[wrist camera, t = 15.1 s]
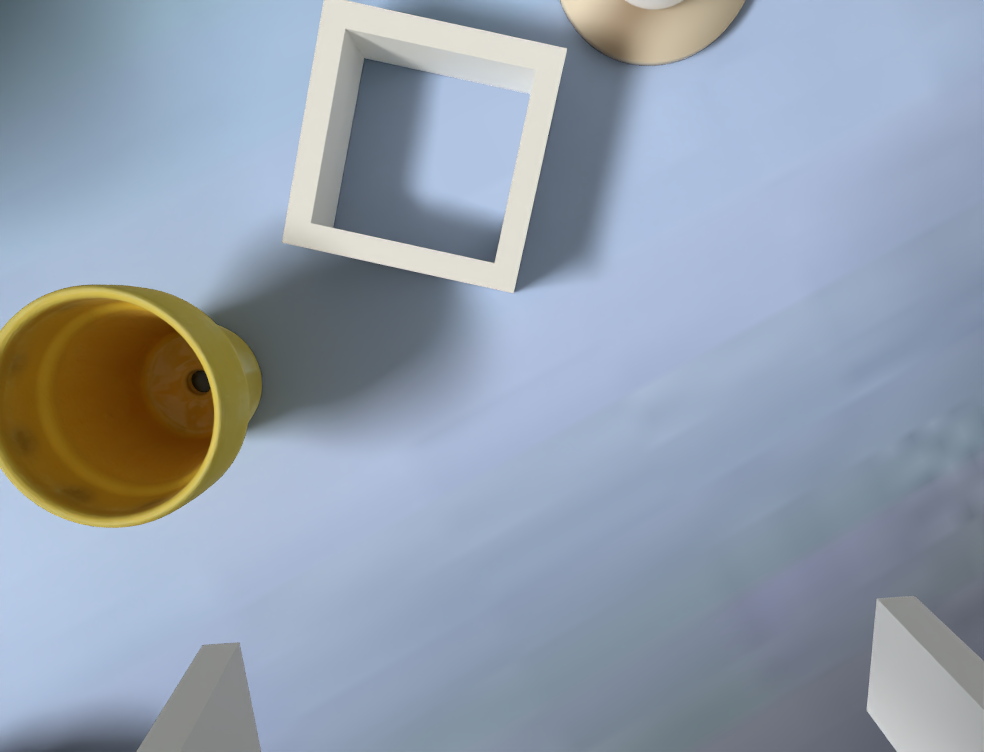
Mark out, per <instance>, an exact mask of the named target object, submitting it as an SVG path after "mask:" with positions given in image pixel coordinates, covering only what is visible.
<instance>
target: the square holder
mask: <svg viewBox="0 0 984 752" xmlns="http://www.w3.org/2000/svg"><path fill="white" fill-rule="evenodd" d="M566 52H567V48H563V47H558V46H553V45H549V44H544V43H540V42H535V41H530V40H526V39H521V38H517V37H512V36H507V35H503V34H498V33H493V32H489V31H484V30H480V29H475V28H470V27H466V26H461V25H457V24H452V23H447V22H443V21H438V20H434V19H429V18H424V17H420V16H415V15H411V14H406V13H401V12H397V11H392V10H387V9H383V8H378V7H374V6H369V5H364V4H360V3H355V2H351V1H346V0H324V2H323V8H322V14H321V20H320V26H319V31H318V37H317V43H316V49H315V54H314V60H313V66H312V72H311V78H310V83H309V89H308V95H307V101H306V106H305V112H304V118H303V124H302V130H301V135H300V141H299V147H298V153H297V158H296V164H295V170H294V176H293V182H292V187H291V193H290V199H289V205H288V210H287V216H286V222H285V228H284V234H283V239H282V243H286V244H290V245H295V246H300V247H304V248H309V249H313V250H318V251H322V252H327V253H332V254H336V255H341V256H345V257H350V258H355V259H359V260H364V261H368V262H373V263H377V264H382V265H387V266H391V267H396V268H400V269H405V270H409V271H414V272H419V273H423V274H428V275H432V276H437V277H442V278H446V279H451V280H455V281H460V282H464V283H469V284H474V285H478V286H483V287H487V288H492V289H496V290H501V291H506V292H510V293H514V289H515V285H516V280H517V276H518V271H519V266H520V262H521V257H522V253H523V248H524V244H525V239H526V234H527V230H528V225H529V221H530V216H531V212H532V207H533V202H534V198H535V193H536V189H537V184H538V180H539V175H540V170H541V166H542V161H543V157H544V152H545V148H546V143H547V139H548V134H549V129H550V125H551V120H552V116H553V111H554V107H555V102H556V97H557V93H558V88H559V84H560V79H561V75H562V70H563V65H564V61H565V56H566ZM364 58H366V59H370V60H375V61H379V62H384V63H389V64H393V65H398V66H402V67H407V68H412V69H416V70H421V71H425V72H430V73H435V74H439V75H444V76H448V77H453V78H458V79H462V80H467V81H471V82H476V83H481V84H485V85H490V86H495V87H499V88H504V89H508V90H513V91H518V92H522V93H527V94H531V95H530V100H529V104H528V109H527V114H526V118H525V123H524V128H523V132H522V137H521V142H520V146H519V151H518V156H517V160H516V165H515V170H514V174H513V179H512V184H511V188H510V193H509V198H508V202H507V207H506V212H505V216H504V221H503V226H502V230H501V235H500V240H499V244H498V249H497V254H496V258H495V263H491V262H487V261H482V260H478V259H473V258H469V257H464V256H459V255H455V254H450V253H446V252H441V251H436V250H432V249H427V248H423V247H418V246H414V245H409V244H404V243H400V242H395V241H391V240H386V239H381V238H377V237H372V236H368V235H363V234H359V233H354V232H349V231H345V230H340V229H336V228H333V227H334V221H335V216H336V211H337V205H338V200H339V194H340V189H341V183H342V178H343V172H344V167H345V161H346V156H347V150H348V145H349V139H350V134H351V128H352V123H353V117H354V112H355V106H356V101H357V95H358V90H359V84H360V79H361V73H362V68H363V62H364Z"/></svg>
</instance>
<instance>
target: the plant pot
mask: <svg viewBox="0 0 984 752" xmlns="http://www.w3.org/2000/svg"><path fill="white" fill-rule="evenodd" d="M196 371H205V373H206V375H207V377H208V381H209V384H210V387H211V388H210V390H209V391H208V392H205V393H204V392H199V391H198V390H196V389H195V388H194V386H193V385H192V382H191V379H192V375H193V374H194V373H195V372H196ZM261 392H262V377H261V371H260V368H259V365H258V362H257V360H256V358H255V356H254V354H253V352H252V351H251V349H250V348H249V346H248V345H247V344H246V343H245V342H244V341H243V340H242V339H241V338H240V337H239V336H238V335H237V334H235V333H234V332H232V331H230V330H228V329H226V328H224V327H222V326H219V325H217V324H216V323H215V322H214V321H213V320H212V319H211V318H210V317H208V316H207V315H206V314H205V313H204V312H202V311H201V310H199V309H198V308H197V307H195V306H193V305H192V304H190V303H188V302H187V301H185V300H183V299H180V298H178V297H176V296H174V295H171V294H168V293H165V292H162V291H158V290H153V289H148V288H141V287H134V286H124V285H81V286H73V287H68V288H64V289H60V290H57V291H54V292H51V293H49V294H46V295H44V296H42V297H40V298H38V299H36V300H34V301H33V302H31V303H30V304H28V305H27V306H25V307H24V308H22V309H21V310H20V311H19V312H18V313H16V314H15V315H14V316H13V317H12V318H11V319H10V320H9V321H8V322H7V323H6V325H5V326H4V327H3V328H2V329H1V331H0V468H1V469H2V471H3V472H4V473H5V475H6V476H7V477H8V479H9V480H10V481H11V482H12V483H13V484H14V485H15V486H16V488H17V489H18V490H19V491H20V492H22V493H23V494H24V495H25V496H26V497H27V498H29V499H30V500H31V501H33V502H34V503H35V504H37V505H38V506H40V507H41V508H43V509H45V510H47V511H48V512H50V513H52V514H54V515H56V516H59V517H61V518H64V519H66V520H69V521H72V522H76V523H79V524H84V525H89V526H96V527H106V528H118V527H129V526H135V525H140V524H144V523H148V522H151V521H154V520H157V519H159V518H162V517H164V516H166V515H168V514H170V513H172V512H174V511H175V510H177V509H179V508H181V507H182V506H184V505H185V504H187V503H188V502H190V501H192V500H193V499H195V498H196V497H197V496H199V495H200V494H202V493H203V492H204V491H205V490H207V489H208V488H209V487H210V486H212V485H213V484H214V483H215V482H216V481H217V480H218V479H219V478H220V477H221V476H223V475H224V473H225V472H226V471H227V470H228V468H229V467H230V466H231V464H232V463H233V461H234V460H235V458H236V456H237V454H238V452H239V451H240V448H241V446H242V444H243V441H244V438H245V435H246V431H247V427H248V422H249V421H250V420H251V418H252V417H253V415H254V413H255V411H256V409H257V407H258V404H259V402H260V398H261Z"/></svg>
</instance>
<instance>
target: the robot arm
mask: <svg viewBox="0 0 984 752" xmlns="http://www.w3.org/2000/svg"><path fill="white" fill-rule="evenodd" d="M867 711H868V713H869V714H870V716H871V717H872V718H873V720H874V721H875V722H876V724H877V725H878V726H879V728H880V729H881V730H882V732H883V733H884V735H885V736H886V737H887V739H888V740H889V741H890V743H891V744H892V745H893V747H894V748H895V750H896V751H897V752H984V661H983V660H982V659H981V658H980V657H979V656H977V655H976V654H975V653H974V652H973V651H972V650H971V649H970V648H969V647H968V646H967V645H966V644H965V643H964V642H963V641H962V640H961V639H959V638H958V637H957V636H956V635H955V634H954V633H953V632H952V631H951V630H950V629H949V628H948V627H947V626H946V625H945V624H944V623H943V622H941V621H940V620H939V619H938V618H937V617H936V616H935V615H934V614H933V613H932V612H931V611H930V610H929V609H928V608H927V607H926V606H925V605H923V604H922V603H921V602H920V601H919V600H918V599H917V598H916V597H915V596H907V597H892V598H878V599H877V603H876V614H875V625H874V636H873V647H872V658H871V669H870V680H869V691H868V702H867ZM136 752H261V748H260V743H259V738H258V733H257V728H256V723H255V718H254V713H253V708H252V703H251V698H250V693H249V688H248V683H247V678H246V673H245V668H244V663H243V658H242V653H241V648H240V643H224V644H210V645H202V647H201V648H200V650H199V652H198V653H197V655H196V656H195V658H194V660H193V661H192V663H191V664H190V666H189V668H188V669H187V671H186V672H185V674H184V676H183V677H182V679H181V681H180V682H179V684H178V685H177V687H176V689H175V690H174V692H173V693H172V695H171V697H170V698H169V700H168V701H167V703H166V705H165V706H164V708H163V710H162V711H161V713H160V714H159V716H158V718H157V719H156V721H155V722H154V724H153V726H152V727H151V729H150V730H149V732H148V734H147V735H146V737H145V739H144V740H143V742H142V743H141V745H140V747H139V748H138V750H137V751H136Z"/></svg>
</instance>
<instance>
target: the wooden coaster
mask: <svg viewBox="0 0 984 752" xmlns="http://www.w3.org/2000/svg"><path fill="white" fill-rule="evenodd" d="M560 2H561V5H562V8H563V10H564V12H565V14H566V16H567V18H568V19H569V21H570V22H571V24H572V25H573V27H574V28H575V30H576V31H577V32H578V33H579V34H580V35H581V36H582V38H583V39H584V40H585V41H587V42H588V43H589V44H590V45H591V46H593V47H594V48H595V49H597V50H598V51H600V52H601V53H603V54H605V55H606V56H609V57H611V58H613V59H615V60H618V61H621V62H625V63H628V64H634V65H641V66H657V65H665V64H670V63H674V62H677V61H681V60H683V59H686V58H688V57H690V56H693V55H694V54H696V53H698V52H700V51H701V50H703V49H704V48H706V47H707V46H708V45H710V44H711V43H712V42H714V41H715V40H716V39H717V38H718V37H719V36H720V35H721V34H722V33H723V32H724V31H725V30H726V28H727V27H728V26H729V25H730V23H731V22H732V21H733V20H734V18H735V17H736V16H737V14H738V13H739V11H740V9H741V8H742V6H743V4H744V2H745V0H684V1H682V2H680V3H679V4H676V5H674V6H672V7H669V8H665V9H659V10H649V9H642V8H639V7H636V6H634V5H631V4H630V3H628V2H626V1H625V0H560Z"/></svg>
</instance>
